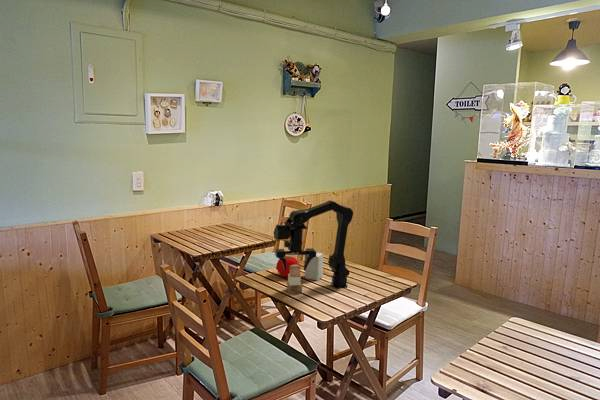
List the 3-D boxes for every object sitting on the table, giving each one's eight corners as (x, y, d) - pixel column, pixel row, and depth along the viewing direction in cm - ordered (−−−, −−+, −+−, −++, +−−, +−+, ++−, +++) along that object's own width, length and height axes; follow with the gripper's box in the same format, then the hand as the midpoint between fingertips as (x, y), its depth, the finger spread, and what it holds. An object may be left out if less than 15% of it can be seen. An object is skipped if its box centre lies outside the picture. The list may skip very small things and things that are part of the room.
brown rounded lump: (298, 273, 199) (299, 264, 199) (301, 277, 194) (301, 267, 194) (288, 273, 198) (288, 264, 197) (290, 277, 193) (291, 268, 193)
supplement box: (322, 276, 220) (324, 253, 218) (317, 280, 213) (318, 256, 211) (310, 274, 223) (311, 251, 221) (304, 278, 216) (305, 254, 214)
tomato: (299, 279, 213) (300, 259, 212) (275, 278, 213) (276, 258, 212) (299, 272, 224) (300, 253, 223) (276, 271, 225) (277, 252, 223)
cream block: (298, 281, 200) (298, 273, 199) (300, 285, 195) (300, 277, 194) (288, 281, 199) (288, 273, 198) (289, 285, 194) (290, 277, 193)
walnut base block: (299, 289, 201) (299, 281, 200) (301, 293, 195) (302, 285, 194) (286, 289, 200) (287, 281, 199) (289, 294, 194) (289, 286, 193)
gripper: (311, 234, 203) (310, 265, 206) (273, 234, 199) (272, 266, 202) (317, 239, 193) (315, 272, 195) (277, 240, 189) (276, 273, 191)
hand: (294, 270), depth 196 cm, fingers open, 9 cm apart
